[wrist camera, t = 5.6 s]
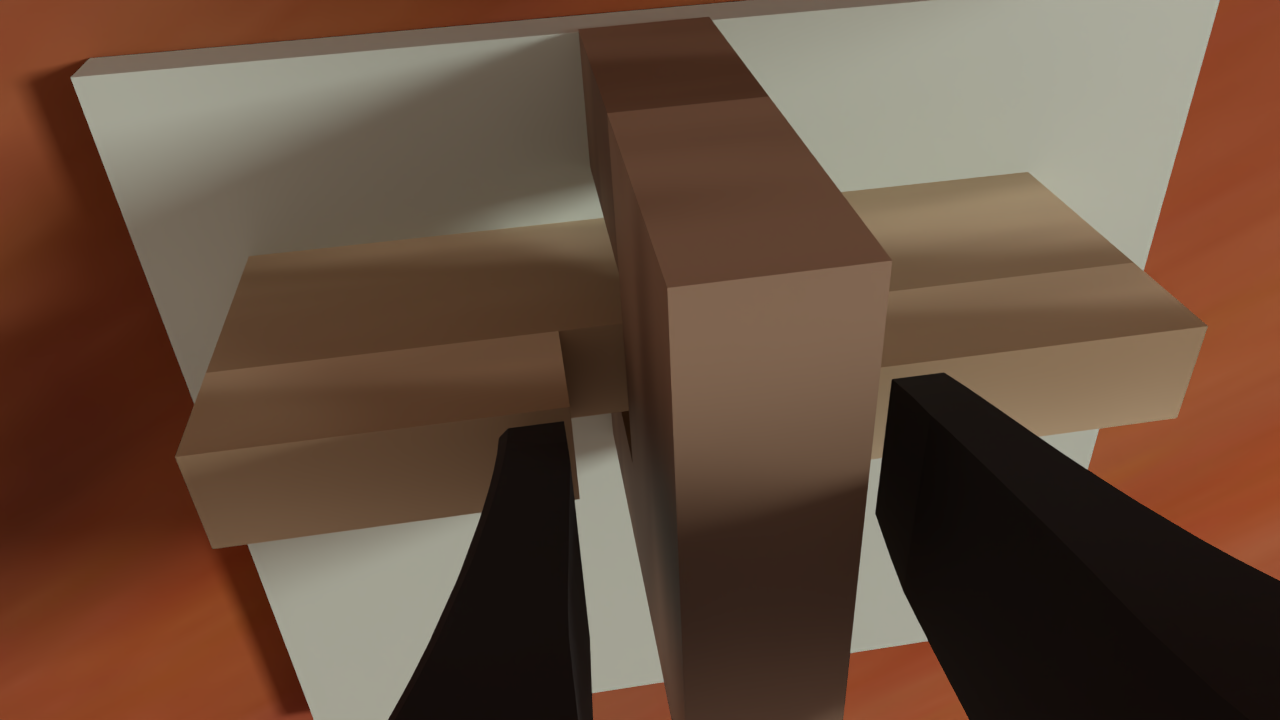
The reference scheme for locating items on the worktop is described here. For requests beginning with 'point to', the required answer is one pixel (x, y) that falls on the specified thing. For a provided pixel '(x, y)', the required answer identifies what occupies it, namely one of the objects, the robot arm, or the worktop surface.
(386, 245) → the wooden u-shaped block
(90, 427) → the worktop surface
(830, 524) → the wooden c-clamp shape
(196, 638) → the worktop surface
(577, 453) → the board
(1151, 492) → the worktop surface
